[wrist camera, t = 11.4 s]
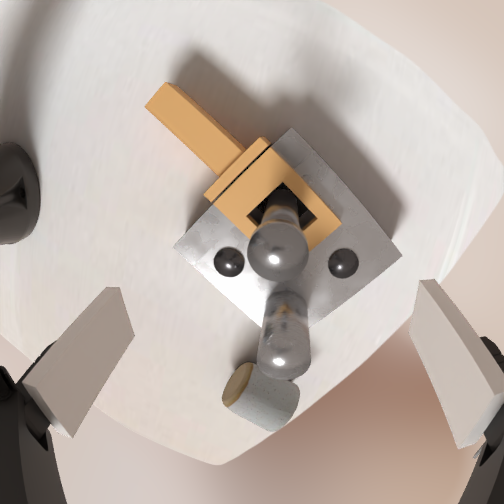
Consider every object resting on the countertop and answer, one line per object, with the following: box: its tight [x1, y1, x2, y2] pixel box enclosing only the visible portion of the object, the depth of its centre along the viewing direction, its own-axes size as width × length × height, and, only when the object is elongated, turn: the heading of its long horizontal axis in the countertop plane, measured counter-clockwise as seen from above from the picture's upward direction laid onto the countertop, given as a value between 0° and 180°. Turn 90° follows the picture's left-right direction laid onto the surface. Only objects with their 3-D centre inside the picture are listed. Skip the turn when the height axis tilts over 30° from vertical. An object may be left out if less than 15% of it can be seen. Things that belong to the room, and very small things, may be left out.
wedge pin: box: [247, 189, 309, 282], centre depth 25 cm, size 4×4×13 cm
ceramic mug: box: [222, 362, 300, 432], centre depth 38 cm, size 11×8×8 cm
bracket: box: [145, 82, 342, 252], centre depth 27 cm, size 20×7×5 cm, turn 45°
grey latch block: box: [173, 127, 402, 380], centre depth 27 cm, size 16×16×12 cm
